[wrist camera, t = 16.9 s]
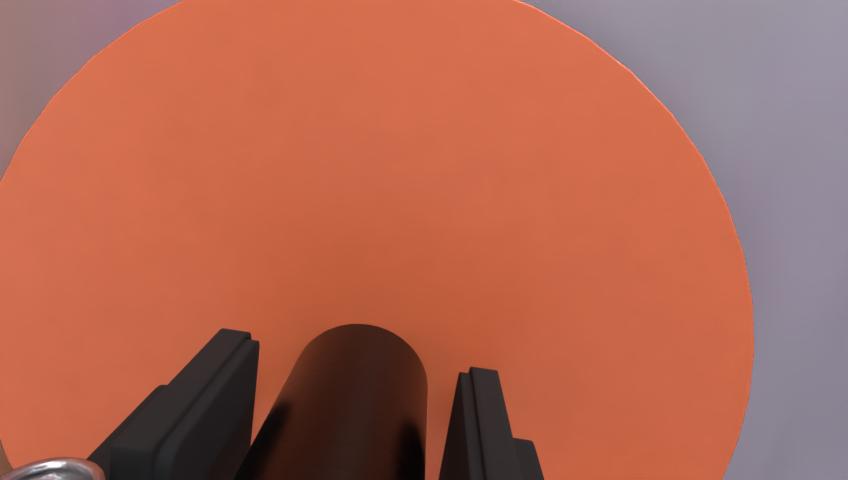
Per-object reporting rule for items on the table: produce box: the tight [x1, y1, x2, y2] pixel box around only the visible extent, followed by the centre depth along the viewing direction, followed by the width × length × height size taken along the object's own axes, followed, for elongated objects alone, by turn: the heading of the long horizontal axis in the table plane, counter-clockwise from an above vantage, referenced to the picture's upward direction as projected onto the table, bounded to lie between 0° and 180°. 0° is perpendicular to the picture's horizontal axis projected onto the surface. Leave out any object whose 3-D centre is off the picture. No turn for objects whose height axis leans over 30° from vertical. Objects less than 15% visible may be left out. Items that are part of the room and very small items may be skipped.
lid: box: [0, 0, 754, 480], centre depth 10 cm, size 17×17×8 cm
